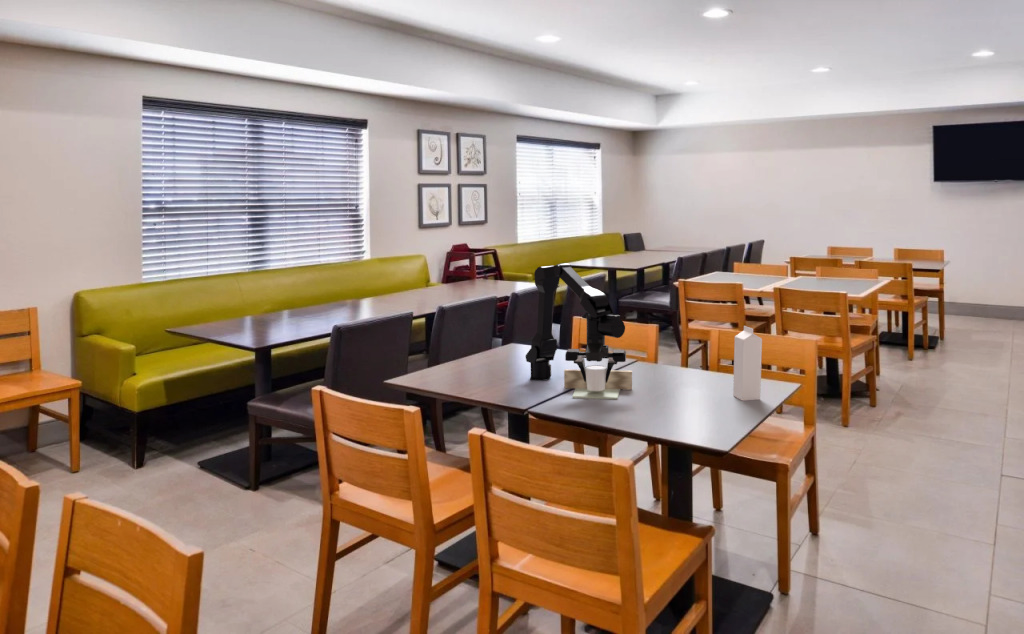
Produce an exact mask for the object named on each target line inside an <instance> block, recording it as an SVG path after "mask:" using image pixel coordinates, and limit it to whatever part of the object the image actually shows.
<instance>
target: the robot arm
mask: <svg viewBox="0 0 1024 634" xmlns="http://www.w3.org/2000/svg"><path fill="white" fill-rule="evenodd" d="M560 279H561V280H562V282H563V283H564V284H565V285H566V286H567V287H568V288H569V289H570V290H571V291H572V292H574V294H575V295H576V296H577V297H578V299H579V304H580V306H581V307H582V308H583V310H584V311H585V312H584V314H583V315H582V316H581V318H583V319H586V345H585V351H580V349H579V348H568V349H567V350H566V352H565V354H564V355H565V357H564V360H565V361H567V362H573V364H576V365H577V366H578V368H579V370H581V373H582V376H583V379H584V382H586V372H585V367H586V362H585V361H587V362H602V361H603V359H608V360H607V366H606V367H607V373H606V383H607V381H608V378H609V375H610V372H611V370H613V367H614V365H617V364H618V363H625V362H626V361H627V352H626V350H625V349H613V351H612V352H609V351H610V350H609V345H608V344H607V345H606V337H610V338H616V339H619V338H622V337H623V335H624V334H625V331H626V324H625V323H624V320H622V319H621V315H619V314H615V313H616V312H615V311H614V309H613V307H612V305H611V303H610V300H609V298H608V296H607V295H606V294H605V293H604V292H602V291H601V290H599V289H597V288H594V287H592V286H590V285H589V283H587V282H586V280H584V279H583V278H582V277H581V276H580V275H579V274H578V273H577V271H575V270H574V268H572V265H571V264H570V263H567V262H566V263H557V264H556V265H544V266H538V267H537V268H536V269H535V271H534V285H535V287H536V289H537V290H538V304H537V305H538V306H537V309H538V310H537V326H536V333H535V335H534V336H533V338H532V340H531V345H530V349H529V350H528V351H527V353H526V354H525V361H526V362H527V363H530V378H529V380H530V381H549V380H550V378H551V377H552V364H551V363H550V361H554V360H555V359H554V358H555V355H556V352H557V350H558V346H557V345H558V344H557V343H558V339H557V338H554V335H553V333H552V331H553V330H552V328H553V315H554V313H553V312H554V294H555V291H556V289H557V288H558V286H559V284H560Z"/></svg>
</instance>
